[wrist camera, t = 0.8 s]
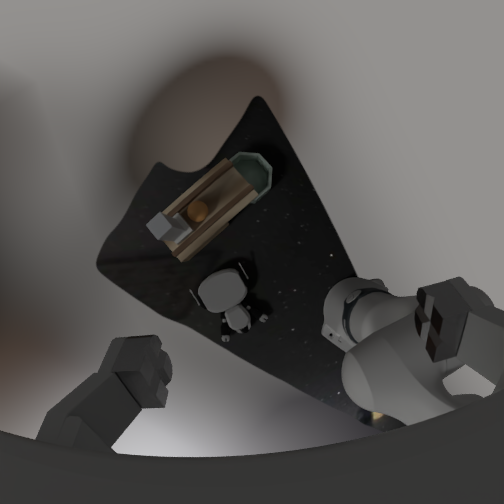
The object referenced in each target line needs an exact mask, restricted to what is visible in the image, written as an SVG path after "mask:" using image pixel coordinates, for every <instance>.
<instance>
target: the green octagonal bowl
mask: <svg viewBox="0 0 504 504" xmlns="http://www.w3.org/2000/svg"><path fill="white" fill-rule="evenodd" d="M230 161H231V162H232V163H233V167H234V168H235V169H236V170H237V171H238V172H239V173H240V174H241V175H242V177H243V178H244V179H245V180H246V181H247V182H248V183H249V184H252V186H253V187H254V190H255V191H256V192H257V193H258V196H257V197H256V198H255V199H254V200H253V201H251V202H250V203H256V202H257V201H258V200H260V199H261V198H262V197H263V196H264V195H266V194H267V193H268V192H269V191H270V189H271V181H272V167H271V166H270V165H269V164H268V162H267V161H266V160H265V159H264V158H263V157H262V156H261V155H260V154H259V153H248V152H238V153H237V154H236V155H235V156H234V157H232V158H231V159H230Z"/></svg>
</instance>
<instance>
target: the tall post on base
mask: <svg viewBox="0 0 504 504" xmlns="http://www.w3.org/2000/svg"><path fill="white" fill-rule="evenodd" d="M146 226H147V227H148V228H149V230H150V231H151V232H152V233H153V235H154V236H155V237H156V238H157V239H158V240H164V241H173V242H175V243H176V244H178V245H179V244H181V243H182V242H183V241H184V240H185V239H186V238H187V237H188V236H190V235H191V234H192V233H193V232H194V230H193V228H192V227H191V226H190V225H189V224H188V223H187V221H186V220H185V219H184V218H183V217H182V216H181V214H179V213H176V214H175V215H174V216H173V217H170V216H168V215H166V214H164V213H161V212H159V213H158V214H157V215H156V216H155V217H154V218H153V219H152V220H151V221H150V222H149V223H148V224H146Z"/></svg>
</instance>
